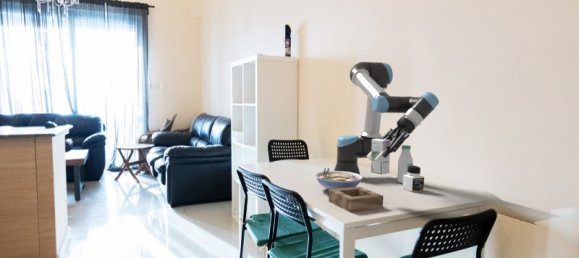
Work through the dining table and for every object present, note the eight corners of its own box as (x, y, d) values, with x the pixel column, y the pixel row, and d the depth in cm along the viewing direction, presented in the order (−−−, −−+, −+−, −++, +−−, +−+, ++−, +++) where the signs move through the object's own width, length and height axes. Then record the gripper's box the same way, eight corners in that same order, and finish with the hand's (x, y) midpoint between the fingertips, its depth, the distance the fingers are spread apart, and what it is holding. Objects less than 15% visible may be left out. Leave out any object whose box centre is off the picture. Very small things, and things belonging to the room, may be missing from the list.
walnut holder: (328, 201, 154) (329, 189, 153) (359, 197, 161) (359, 186, 160) (350, 212, 140) (350, 199, 139) (382, 207, 146) (383, 195, 146)
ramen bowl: (362, 199, 158) (363, 181, 157) (310, 195, 163) (311, 177, 162) (362, 186, 182) (363, 170, 182) (317, 183, 187) (318, 167, 186)
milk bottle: (401, 184, 188) (403, 146, 186) (394, 181, 195) (396, 144, 194) (415, 184, 189) (416, 146, 188) (407, 180, 197) (409, 144, 195)
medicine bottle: (412, 192, 173) (413, 167, 172) (402, 188, 179) (403, 165, 178) (423, 191, 175) (425, 166, 174) (413, 187, 182) (415, 164, 181)
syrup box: (389, 173, 153) (391, 139, 152) (381, 174, 149) (382, 140, 148) (378, 170, 157) (379, 138, 156) (370, 172, 153) (371, 138, 152)
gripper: (428, 130, 145) (389, 171, 143) (402, 126, 164) (368, 161, 163) (416, 117, 143) (377, 158, 141) (392, 114, 163) (357, 150, 161)
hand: (372, 160), depth 152 cm, fingers closed on syrup box, 7 cm apart
